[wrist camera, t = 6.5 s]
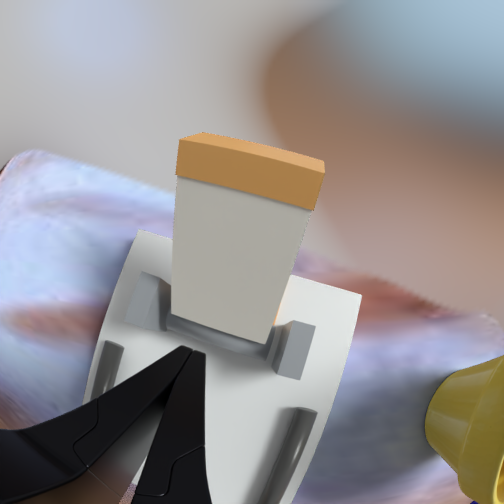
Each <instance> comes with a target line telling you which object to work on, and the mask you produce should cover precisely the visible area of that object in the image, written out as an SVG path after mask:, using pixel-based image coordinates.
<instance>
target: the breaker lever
mask: <svg viewBox="0 0 504 504" xmlns="http://www.w3.org/2000/svg"><path fill="white" fill-rule="evenodd" d="M176 175H178V176H177V187H176V198H175V211H174V226H173V246H172V276H171V305H170V307H169V310H168V313H167V317H166V327H167V329H170V330H172V331H175V332H178V333H180V334H183V335H186V336H188V337H191V338H194V339H197V340H199V341H202V342H205V343H208V344H211V345H214V346H217V347H220V348H223V349H226V350H229V351H232V352H236V353H239V354H242V355H245V356H249V357H252V358H255V359H259V360H262V361H266V359H267V356H268V354H269V351H270V348H271V345H272V342H273V338H274V334H275V330H276V326H274V325H273V322H274V319H275V317H276V314H277V311H278V309H279V306H280V303H281V300H282V297H283V295H284V292H285V289H286V286H287V283H288V280H289V278H290V275H291V272H292V269H293V266H294V263H295V260H296V257H297V254H298V251H299V248H300V245H301V242H302V239H303V236H304V233H305V230H306V227H307V224H308V221H309V217H310V214H311V211H312V210H314V208H315V204H316V201H317V198H318V195H319V191H320V188H321V185H322V181H323V178H324V175H325V170H324V161H322V160H318V159H315V158H312V157H308V156H305V155H301V154H297V153H294V152H290V151H286V150H282V149H278V148H274V147H271V146H266V145H262V144H257V143H254V142H249V141H245V140H240V139H235V138H230V137H225V136H220V135H215V134H209V133H204V132H202V133H199V134H195V135H192V136H188V137H185V138H182V139H180V140H179V147H178V156H177V166H176Z"/></svg>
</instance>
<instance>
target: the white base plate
mask: <svg viewBox="0 0 504 504" xmlns="http://www.w3.org/2000/svg"><path fill="white" fill-rule="evenodd" d="M172 246H173V239H170V238H167V237H164V236H161V235H157V234H154V233H151V232H148V231H144V230H141V229H139V230H138V232H137V234H136V237H135V239H134V241H133V244H132V246H131V248H130V251H129V253H128V256H127V258H126V261H125V263H124V266H123V268H122V271H121V273H120V276H119V279H118V281H117V284H116V287H115V290H114V292H113V295H112V298H111V301H110V304H109V307H108V310H107V313H106V316H105V319H104V322H103V325H102V328H101V332H100V335H99V338H98V342H97V345H96V349H95V352H94V356H93V360H92V364H91V367H90V371H89V375H88V380H87V384H86V388H85V393H84V397H83V402H82V405H84V404H86V403H87V402H89V401H91V400H93V399H94V398H98V396H100V395H101V394H103V393H105V392H106V391H108V390H110V389H111V388H113V387H115V386H116V385H118V384H120V383H121V382H123V381H125V380H126V379H128V378H129V377H131V376H133V375H134V374H136V373H138V372H139V371H141V370H142V369H144V368H146V367H147V366H149V365H150V364H152V363H154V362H155V361H157V360H158V359H160V358H161V357H163V356H165V355H166V354H168V353H169V352H171V351H172V350H174V349H175V348H177V347H179V346H180V345H184V346H187V347H190V348H192V349H193V351H194V350H198V351H201V352H204V353H205V354H206V385H205V451H206V472H207V479H208V485H209V491H210V496H211V500H212V504H291V502H292V500H293V498H294V496H295V494H296V492H297V490H298V488H299V486H300V484H301V482H302V480H303V478H304V476H305V473H306V471H307V469H308V467H309V464H310V462H311V460H312V457H313V455H314V453H315V450H316V448H317V445H318V443H319V440H320V438H321V435H322V433H323V430H324V427H325V425H326V422H327V419H328V416H329V414H330V411H331V408H332V405H333V402H334V399H335V396H336V393H337V390H338V387H339V384H340V380H341V377H342V374H343V370H344V367H345V363H346V360H347V356H348V352H349V349H350V345H351V341H352V337H353V333H354V329H355V325H356V320H357V316H358V312H359V307H360V302H361V297H362V295H360V294H357V293H353V292H350V291H346V290H343V289H339V288H336V287H332V286H329V285H325V284H322V283H318V282H315V281H312V280H308V279H305V278H301V277H298V276H294V275H290V278H289V280H288V283H287V286H286V289H285V292H284V295H283V297H282V300H281V303H280V306H279V309H278V311H277V314H276V317H275V319H274V322H273V325H274V326H276V330H275V334H274V338H273V342H272V345H271V348H270V351H269V354H268V356H267V359H266V361H262V360H259V359H255V358H252V357H249V356H245V355H242V354H239V353H236V352H232V351H229V350H226V349H223V348H220V347H217V346H214V345H211V344H208V343H205V342H202V341H199V340H197V339H194V338H191V337H188V336H186V335H183V334H180V333H178V332H175V331H172V330H170V329H167V327H166V317H167V313H168V310H169V307H170V305H171V276H172ZM146 458H147V457H146ZM146 458H145V460H144V462H143V463H142V465H141V467H140V469H139V470H138V472H137V474H136V475H135V477H134V479H133V480H132V482H131V483H133V484H135V485H137V484H138V481H139V478H140V475H141V472H142V470H143V467H144V464H145V461H146Z"/></svg>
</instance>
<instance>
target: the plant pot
mask: <svg viewBox="0 0 504 504" xmlns="http://www.w3.org/2000/svg"><path fill="white" fill-rule="evenodd" d="M425 434H426V438H427V441H428V443H429V444H430V445H431V447H432V448H433V449H434V450H435V451H436V452H437V453H438V454H439V455H440V456H441V457H442V458H443V459H444V460H445V461H446V462H447V463H448V465H449V466H450V467H451V468H452V469H453V470H454V471H455V472H456V473H457V474H458V482H459V486H460V489H461V490H462V492H463V493H464V494H465V495H466V496H468V497H469V498H471V499H472V500H474V501H476V502H477V503H479V504H504V355H503V356H500V357H498V358H495V359H492V360H490V361H487V362H484V363H481V364H478V365H475V366H472V367H469V368H465V369H462V370H459V371H457V372H455V373H453V374H451V375H450V376H449V377H448V378H446V379H445V380H444V382H443V383H442V384H441V385H440V386H439V388H438V389H437V390H436V392H435V394H434V395H433V397H432V399H431V401H430V403H429V406H428V409H427V413H426V418H425Z"/></svg>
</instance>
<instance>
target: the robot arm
mask: <svg viewBox="0 0 504 504" xmlns="http://www.w3.org/2000/svg"><path fill="white" fill-rule="evenodd" d="M205 385H206V354H205V353H204V352H201V351H198V350H194V351H193V349H192V348H190V347H187V346H184V345H180V346H179V347H177V348H175V349H174V350H172V351H171V352H169V353H168V354H166V355H165V356H163V357H161V358H160V359H158V360H157V361H155V362H154V363H152V364H150V365H149V366H147V367H146V368H144V369H142V370H141V371H139V372H138V373H136V374H134V375H133V376H131V377H129V378H128V379H126V380H125V381H123V382H121V383H120V384H118V385H116V386H115V387H113V388H111V389H110V390H108V391H106V392H105V393H103V394H101V395H100V396H98V398H94V399H93V400H91V401H89V402H87V403H86V404H84V405H82V406H80V407H78V408H76V409H74V410H72V411H70V412H68V413H65V414H63V415H61V416H58V417H56V418H53V419H50V420H48V421H45V422H42V423H40V424H37V425H34V426H31V427H28V428H24V429H18V430H9V429H0V504H119V502H120V500H121V499H122V498H121V497H123V495H124V494H125V492H126V490H127V489H128V487H129V485H130V484H131V482H132V480H133V479H134V477H135V475H136V474H137V472H138V470H139V469H140V467H141V465H142V463H143V462H144V460H145V458H146V457H147V458H146V461H145V464H144V467H143V470H142V472H141V475H140V478H139V481H138V484H137V487H136V490H135V494H134V496H133V499H132V501H131V504H212V500H211V496H210V491H209V485H208V479H207V472H206V451H205Z"/></svg>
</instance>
